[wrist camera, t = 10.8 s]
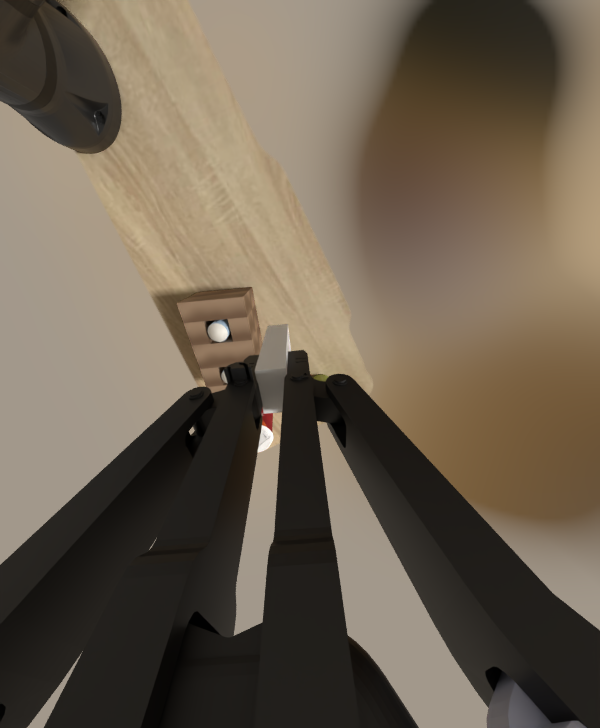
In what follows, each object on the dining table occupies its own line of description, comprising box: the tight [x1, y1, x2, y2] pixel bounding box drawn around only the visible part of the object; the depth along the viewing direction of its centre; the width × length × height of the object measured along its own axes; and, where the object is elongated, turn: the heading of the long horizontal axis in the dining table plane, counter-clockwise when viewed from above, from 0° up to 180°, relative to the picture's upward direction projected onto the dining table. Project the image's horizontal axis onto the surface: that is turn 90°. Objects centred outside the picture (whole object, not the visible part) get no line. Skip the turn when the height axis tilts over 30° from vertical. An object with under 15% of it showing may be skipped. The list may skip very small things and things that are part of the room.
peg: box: [208, 319, 231, 342], centre depth 46 cm, size 4×4×10 cm
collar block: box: [176, 287, 262, 393], centre depth 48 cm, size 22×12×10 cm, turn 5°
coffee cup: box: [258, 407, 273, 452], centre depth 56 cm, size 8×8×15 cm
